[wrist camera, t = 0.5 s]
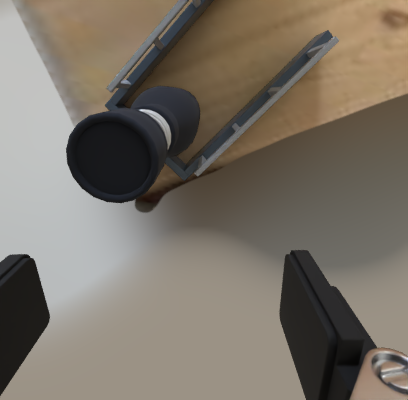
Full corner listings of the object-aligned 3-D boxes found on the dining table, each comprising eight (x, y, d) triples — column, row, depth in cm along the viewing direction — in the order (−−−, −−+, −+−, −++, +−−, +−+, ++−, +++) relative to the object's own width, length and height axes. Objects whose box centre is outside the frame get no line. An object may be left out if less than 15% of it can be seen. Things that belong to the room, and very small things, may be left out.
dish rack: (248, -54, 33) (265, -109, 24) (320, 42, 37) (357, 26, 28) (113, 104, 39) (87, 107, 30) (186, 173, 43) (181, 195, 34)
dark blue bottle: (208, 105, 39) (219, 136, 11) (185, 144, 41) (144, 253, 13) (168, 78, 38) (69, 39, 10) (146, 120, 40) (11, 184, 12)
